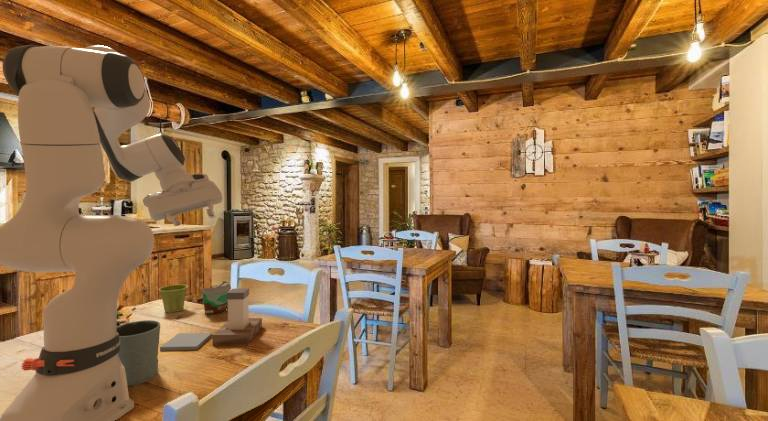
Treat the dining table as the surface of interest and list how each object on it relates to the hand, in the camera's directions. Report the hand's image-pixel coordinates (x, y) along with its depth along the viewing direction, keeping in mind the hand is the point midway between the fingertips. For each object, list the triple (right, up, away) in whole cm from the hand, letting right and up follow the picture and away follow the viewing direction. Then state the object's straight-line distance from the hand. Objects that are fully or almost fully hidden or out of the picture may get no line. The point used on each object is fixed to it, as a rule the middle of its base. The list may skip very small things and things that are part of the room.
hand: (194, 219), depth 107 cm
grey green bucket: (-2, -37, -22) cm, 43 cm away
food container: (-4, -35, +27) cm, 45 cm away
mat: (-1, -36, -2) cm, 36 cm away
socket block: (+12, -36, +4) cm, 38 cm away
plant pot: (-23, -35, +28) cm, 50 cm away
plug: (+12, -36, +4) cm, 38 cm away
